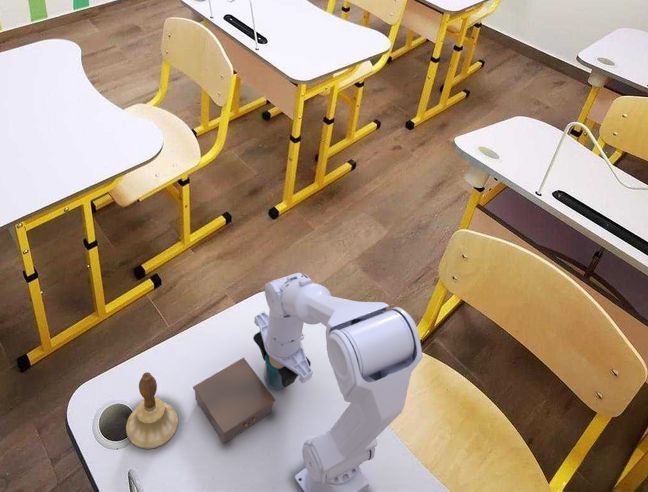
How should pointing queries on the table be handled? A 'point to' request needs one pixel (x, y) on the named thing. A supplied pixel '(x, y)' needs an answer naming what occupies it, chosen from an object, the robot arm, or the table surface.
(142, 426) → the hand bell
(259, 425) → the table surface
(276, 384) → the cup
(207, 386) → the brown wooden box
